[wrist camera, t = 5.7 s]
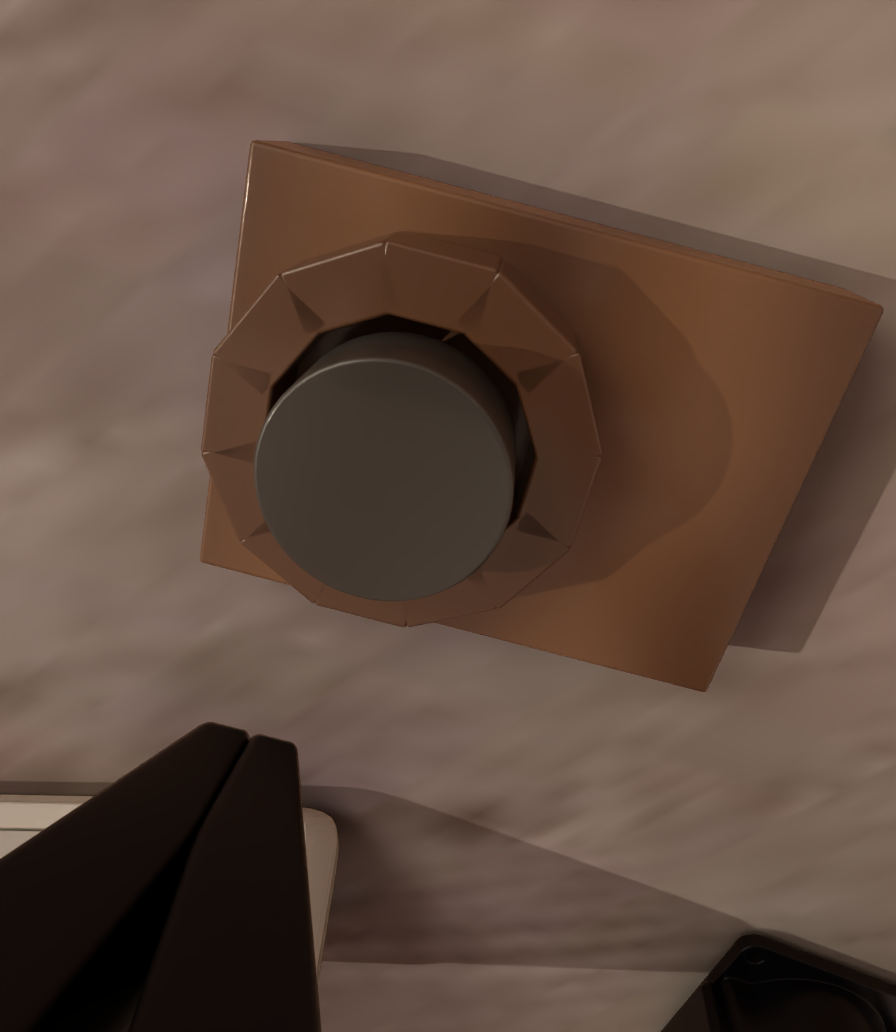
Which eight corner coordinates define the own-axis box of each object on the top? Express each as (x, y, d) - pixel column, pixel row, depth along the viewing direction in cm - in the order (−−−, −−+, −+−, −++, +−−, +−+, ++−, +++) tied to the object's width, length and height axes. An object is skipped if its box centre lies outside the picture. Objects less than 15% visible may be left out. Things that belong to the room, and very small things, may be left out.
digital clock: (370, 793, 24) (256, 1237, 14) (346, 994, 27) (244, 1453, 18) (-164, 701, 24) (-626, 1066, 15) (-114, 911, 28) (-456, 1310, 18)
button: (545, 365, 14) (546, 397, 13) (482, 575, 16) (476, 630, 14) (305, 302, 14) (271, 324, 13) (270, 519, 16) (236, 567, 14)
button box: (845, 289, 17) (931, 327, 13) (689, 641, 21) (723, 747, 17) (283, 140, 17) (213, 137, 13) (230, 522, 20) (165, 602, 17)
